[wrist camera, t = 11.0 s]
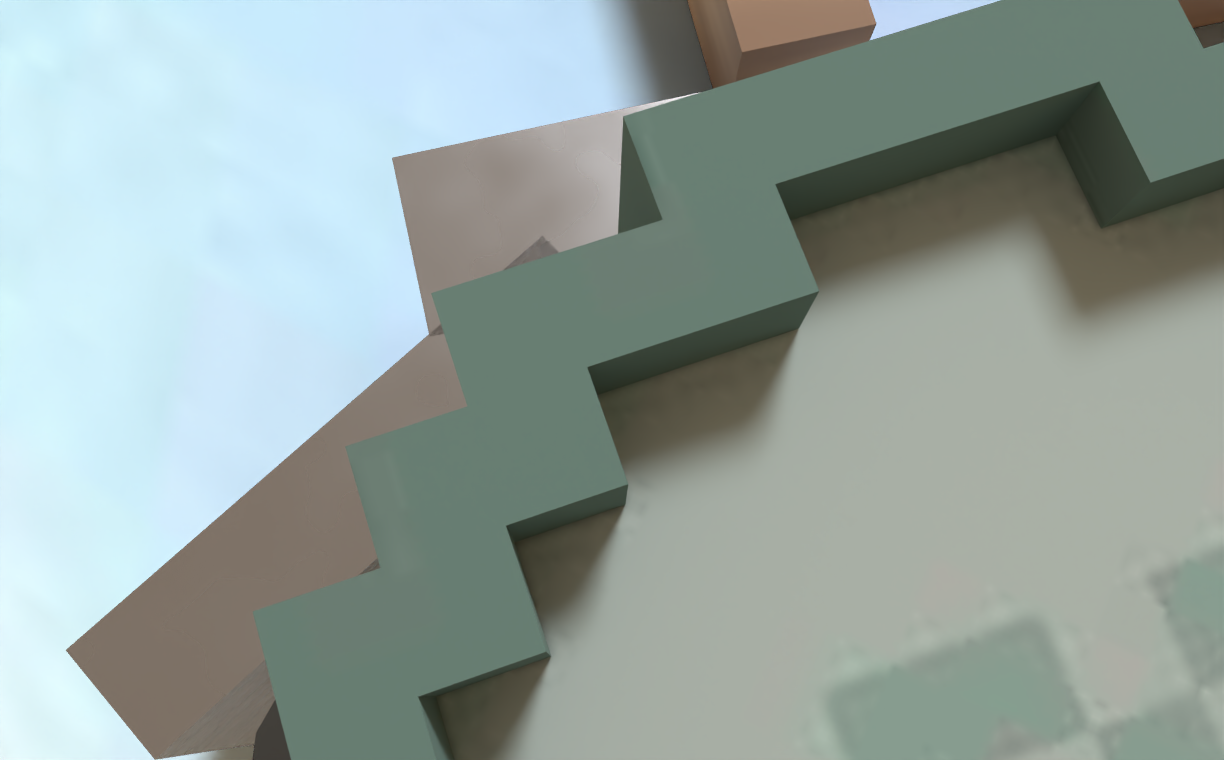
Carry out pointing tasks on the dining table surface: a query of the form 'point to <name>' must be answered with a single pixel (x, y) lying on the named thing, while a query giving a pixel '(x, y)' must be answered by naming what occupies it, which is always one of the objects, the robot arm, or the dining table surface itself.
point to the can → (826, 432)
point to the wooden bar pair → (808, 31)
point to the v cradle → (343, 444)
